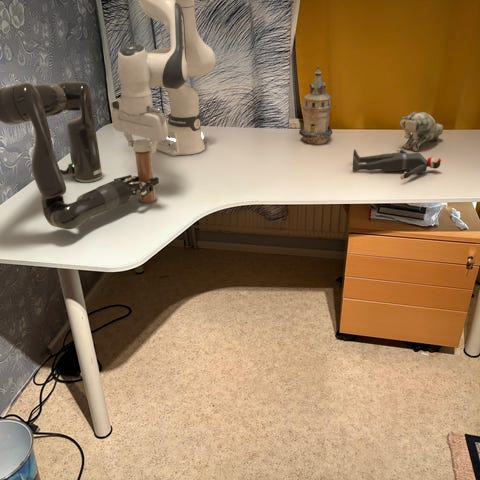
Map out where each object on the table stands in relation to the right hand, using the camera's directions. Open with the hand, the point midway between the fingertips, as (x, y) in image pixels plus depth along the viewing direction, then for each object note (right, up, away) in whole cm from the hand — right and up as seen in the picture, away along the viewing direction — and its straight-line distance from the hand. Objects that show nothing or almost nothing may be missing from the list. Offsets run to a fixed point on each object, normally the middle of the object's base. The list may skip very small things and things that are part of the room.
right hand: (142, 149), depth 164 cm
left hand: (+2, -8, +7) cm, 11 cm away
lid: (0, +2, -1) cm, 2 cm away
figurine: (+102, +10, +49) cm, 113 cm away
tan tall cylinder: (0, -15, +8) cm, 17 cm away
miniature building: (+61, +13, +56) cm, 84 cm away
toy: (+85, -3, +27) cm, 90 cm away
